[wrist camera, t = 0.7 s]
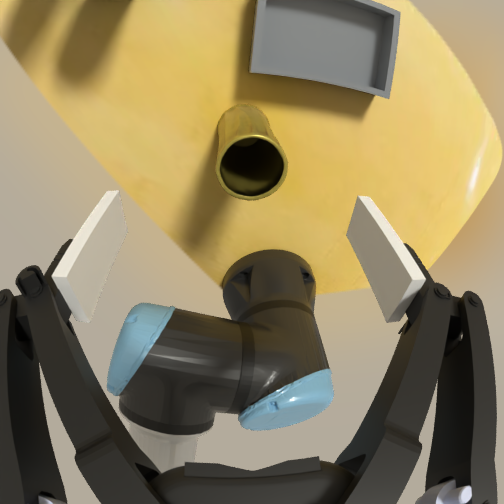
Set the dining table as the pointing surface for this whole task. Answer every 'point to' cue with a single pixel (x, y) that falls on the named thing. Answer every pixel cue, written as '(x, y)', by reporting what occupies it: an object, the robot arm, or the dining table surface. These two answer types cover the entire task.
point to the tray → (327, 42)
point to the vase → (249, 154)
